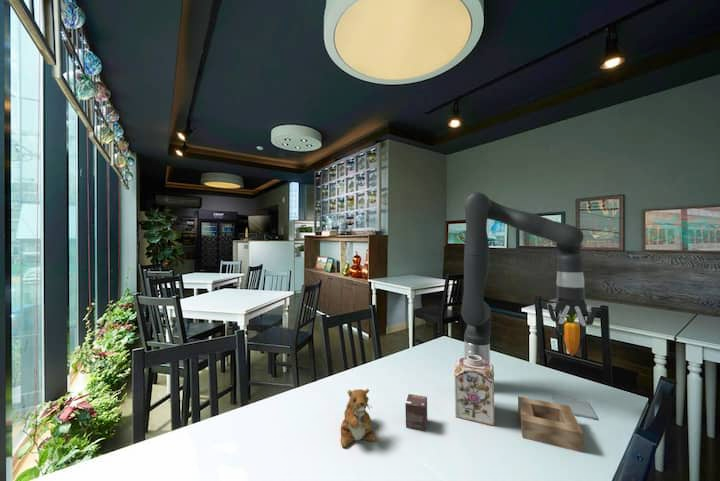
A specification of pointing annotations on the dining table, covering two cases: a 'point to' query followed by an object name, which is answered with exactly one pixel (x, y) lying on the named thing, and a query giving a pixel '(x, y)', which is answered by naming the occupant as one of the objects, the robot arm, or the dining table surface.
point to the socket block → (549, 423)
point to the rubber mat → (576, 407)
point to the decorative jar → (474, 389)
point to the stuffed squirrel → (356, 419)
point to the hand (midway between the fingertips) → (571, 335)
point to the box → (416, 412)
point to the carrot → (571, 334)
